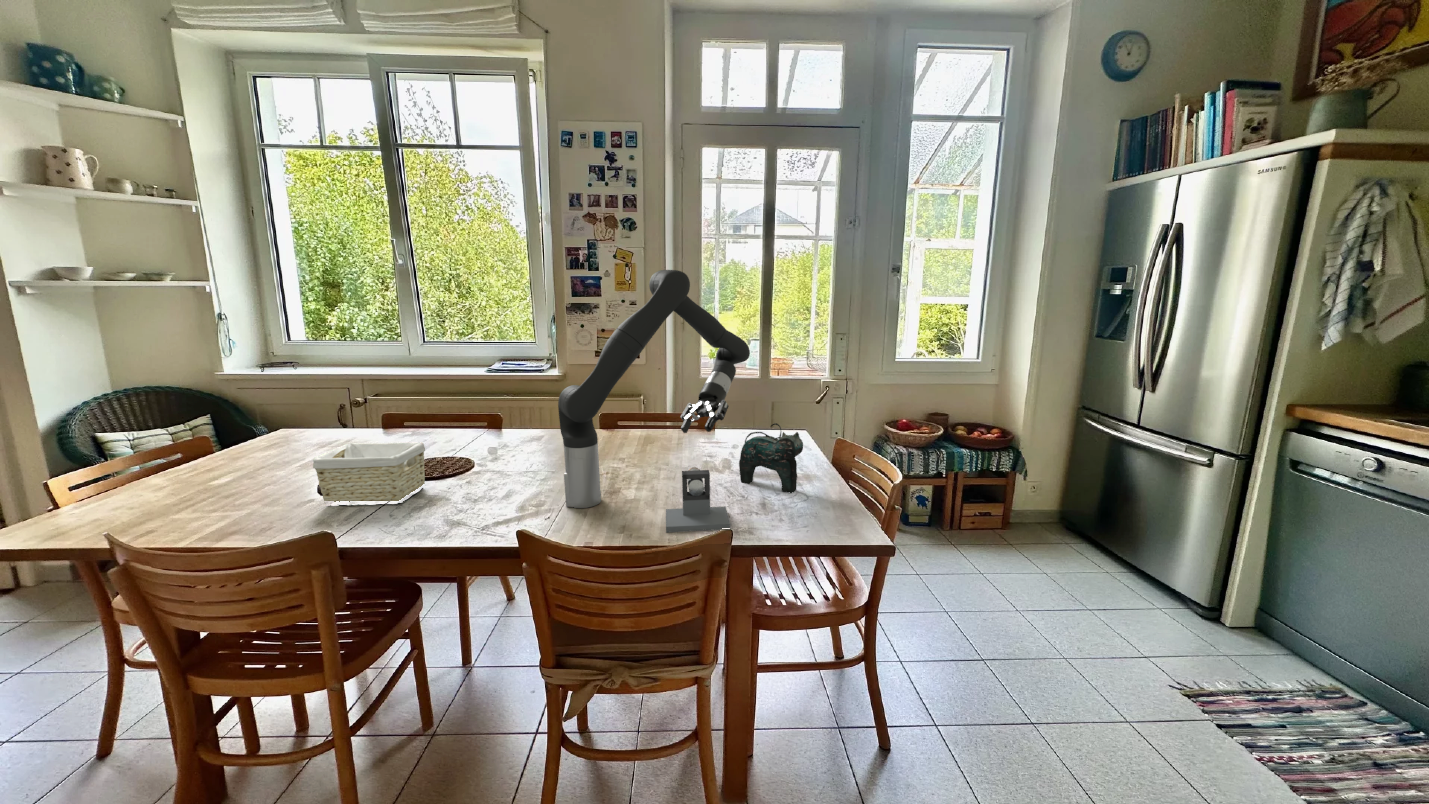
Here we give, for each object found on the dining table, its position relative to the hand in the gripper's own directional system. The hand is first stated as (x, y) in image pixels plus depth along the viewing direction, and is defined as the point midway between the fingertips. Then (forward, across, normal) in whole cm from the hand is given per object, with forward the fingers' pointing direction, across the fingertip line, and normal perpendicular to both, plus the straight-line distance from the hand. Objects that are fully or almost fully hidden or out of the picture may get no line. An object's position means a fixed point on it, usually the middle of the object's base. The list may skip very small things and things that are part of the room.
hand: (695, 430), depth 153 cm
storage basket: (+45, -80, -27) cm, 96 cm away
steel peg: (+17, +5, +5) cm, 18 cm away
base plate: (+24, +7, +8) cm, 27 cm away
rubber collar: (+19, +7, +5) cm, 21 cm away
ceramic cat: (-1, +11, +28) cm, 30 cm away
